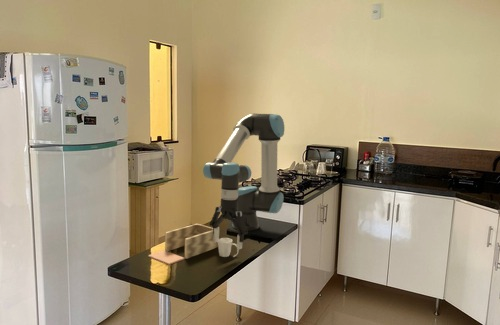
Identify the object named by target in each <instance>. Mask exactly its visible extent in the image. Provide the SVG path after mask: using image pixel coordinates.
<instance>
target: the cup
mask: <svg viewBox="0 0 500 325" xmlns="http://www.w3.org/2000/svg"><path fill="white" fill-rule="evenodd" d="M232 246H235V248H237V243H233V239H232V238H229V237H221V238H220V237H219V239H218V247H217V249H218V254H219V257H223V258H227V257H229V256H230V254H231V251H232ZM239 250H240V249H239ZM239 250H237V249H236V252H237V253H236V254H234V255H233V258H235V257H236V256H237V255H238V254H239Z"/></svg>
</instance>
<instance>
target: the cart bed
mask: <svg viewBox="0 0 500 325" xmlns="http://www.w3.org/2000/svg"><path fill="white" fill-rule="evenodd" d="M181 247H184V258H185V260H186V259H190V258H193V257H196V256H198V255H200V254H203V253H206V252H208V251H211V250H214V249H216V248H217V249H218V242H216V243H214V234H213V227H212V226H207V225H204V224H200V223H194V224H191V225H187V226H183V227H179V228H177V229H173V230H169V231H166V232H165V233H164V251H167V252H169V251H172V250H176V249H179V248H181Z"/></svg>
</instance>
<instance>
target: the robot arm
mask: <svg viewBox="0 0 500 325" xmlns="http://www.w3.org/2000/svg"><path fill="white" fill-rule="evenodd" d="M284 135H285V122H284V119H283V117H282V116H281V115H280V114H277V113H276V114H275V113H250V114H248V115H246V116H244V117H242V118H241V119H240V120H238V121H237V123H236V124H235V125H234V127H233V129H232V132H231V135H229V138H228V139H227V140H226V142H225V143H224V145H223V147H222V148H221V150H220V151H219V152H218V154H217V155H216V157H215V158H214V160H213V161H212V162H207V163H204V166H203V167H202V173H203V176H204V177H205V178H207V179H210V180H219V181H221V184H220V185H221V189H220V190H221V192H220V197H221V198H220V206H216V207H215V210H214V213H213V216H212V218H211V220H210V222H209V227H211V228H213V234H214V243H216V242H218V239H220V227H219V226H220V224H221V223H222V222H223V221H224V220H228V221H230V222H232V225H231V226H232V229H234V230H236V231H237V233H238V234H237V238H236V239H237V240H236V245H237V247H236V251H237V250H241V249H243V243H244V241H245V239H244V238H245V235H247V234H249V231H255V230H258V229H259V226H260V222H259V220H258V215H257V212H262V213H269V214H278V213H279V212H280V211H281V209H282V207H283V203H284V197H285V196H284V193H282V192H281V188H280V186H278V143H279V142H280V141H281V138H282V137H283V136H284ZM251 136H257V137H258V141H259V142H260V143H261V144H260V145H261V150H260V151H261V152H260V153H261V155H260V156H261V160H260V161H261V169H260V170H261V171H260V172H261V175H260V177H261V179H260V180H261V186H259V188H258V187H257V186H254V185H253V186H251V185H250V186H249V185H248V186H242V187H239V183H245V182H246V181H248V180H250V178H251V176H252V170H251V167H250V166H249V165H246V164H240V165H239V163H237V162H233V160H234V158H235V157H236V155H237V154H238V152H239V151H240V149H241V148H242V145H243V144H244V143H245V141H246V140H248V139H249V138H250V137H251Z"/></svg>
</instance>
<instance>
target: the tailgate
mask: <svg viewBox="0 0 500 325" xmlns="http://www.w3.org/2000/svg"><path fill="white" fill-rule="evenodd" d="M147 257H149V258H150V259H153V260H156V261H158V262H161V263H163V264H166V265H169V266H171V265H173V264H176V263H178V262H181V261H184V260H186V258H185V257H183V256H180V255H178V254H175V253H173V252H169V251H165V249H163V250H160V251H157V252H154V253H151V254H148V256H147Z"/></svg>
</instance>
